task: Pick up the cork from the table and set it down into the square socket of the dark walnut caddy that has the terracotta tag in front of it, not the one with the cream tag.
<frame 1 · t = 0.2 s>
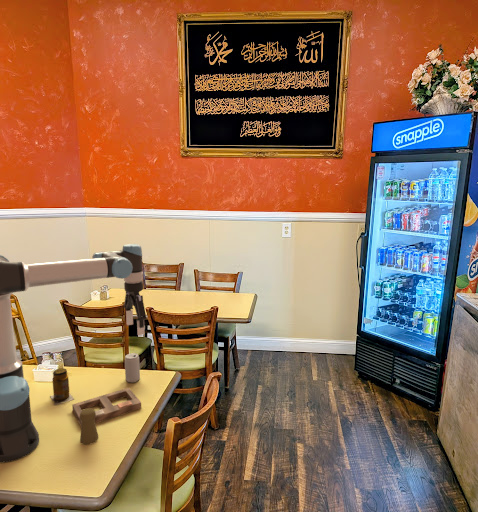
hand: (135, 329, 165), 28 cm above the table, tool pointing down, fingers open, 13 cm apart
caddy: (107, 409, 155), on the table
beverage can: (132, 380, 178), on the table
condiment: (62, 398, 163), on the table
cork: (89, 439, 137), on the table
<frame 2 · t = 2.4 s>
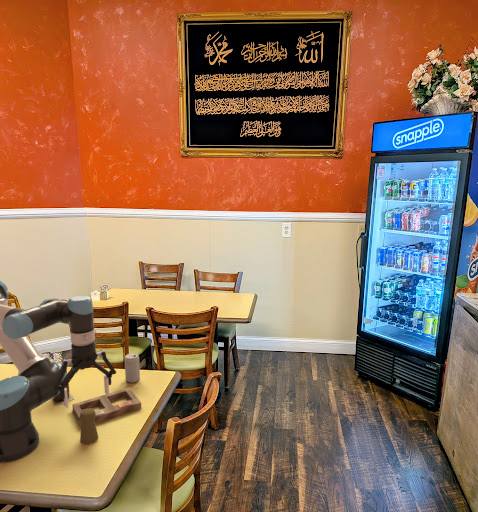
hand: (87, 399, 134), 15 cm above the table, tool pointing down, fingers open, 13 cm apart
nothing on the table moved.
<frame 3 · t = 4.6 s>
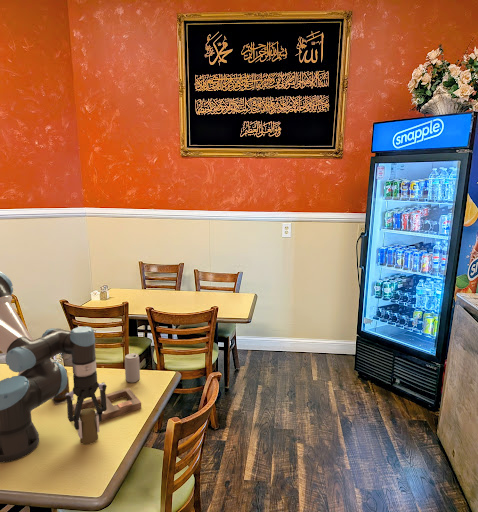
hand: (88, 433, 136), 2 cm above the table, tool pointing down, fingers closed on cork, 5 cm apart
cork: (89, 439, 137), on the table, touching gripper
everything else where it was.
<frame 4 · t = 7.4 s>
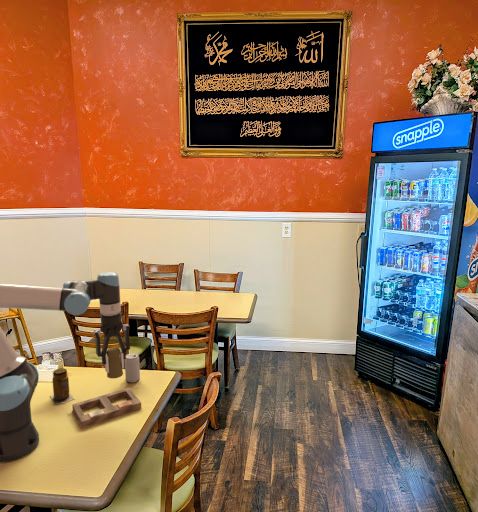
hand: (114, 369, 152), 17 cm above the table, tool pointing down, fingers closed on cork, 5 cm apart
cork: (115, 375, 152), point 15 cm above the table, touching gripper
everything else where it was.
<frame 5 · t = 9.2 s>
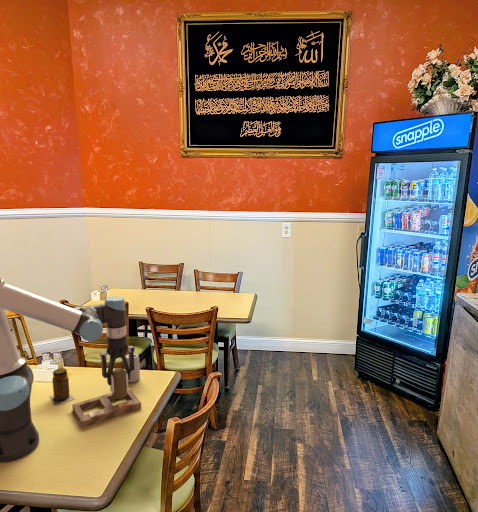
hand: (119, 389, 158), 6 cm above the table, tool pointing down, fingers closed on cork, 5 cm apart
cork: (119, 394, 158), point 4 cm above the table, touching gripper
everything else where it was.
when the fingers open (3 cm above the table, at t = 10.4 s): cork drops 1 cm, resting in caddy.
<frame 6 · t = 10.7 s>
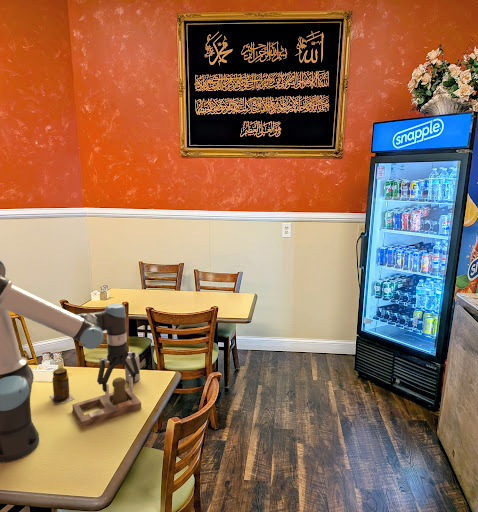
hand: (119, 394, 158), 4 cm above the table, tool pointing down, fingers open, 9 cm apart
cork: (120, 404, 159), resting in caddy
everything else where it was.
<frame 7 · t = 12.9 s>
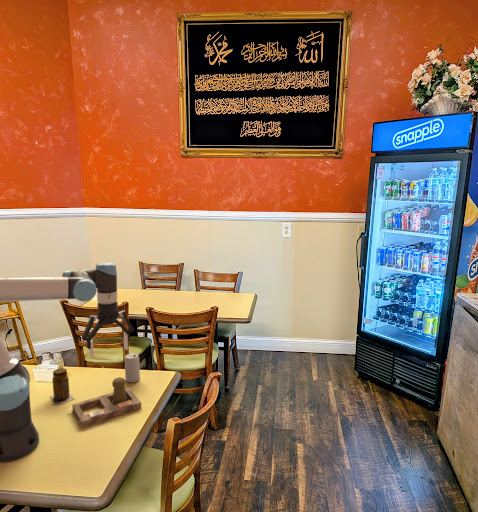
hand: (109, 352, 156), 22 cm above the table, tool pointing down, fingers open, 13 cm apart
nothing on the table moved.
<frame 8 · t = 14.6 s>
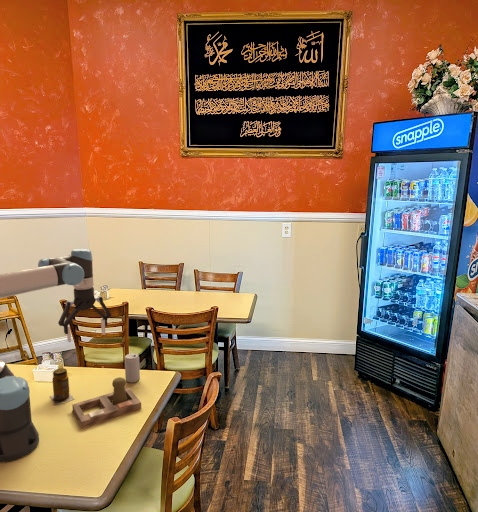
hand: (86, 337, 159), 27 cm above the table, tool pointing down, fingers open, 13 cm apart
nothing on the table moved.
at the end: cork 0.1 cm from the target spot on the caddy, point 0.0 cm above the caddy's base; cork tilted 0°; the gripper is holding nothing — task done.
